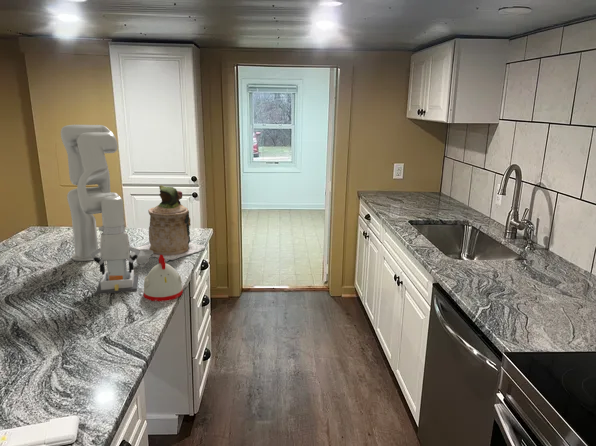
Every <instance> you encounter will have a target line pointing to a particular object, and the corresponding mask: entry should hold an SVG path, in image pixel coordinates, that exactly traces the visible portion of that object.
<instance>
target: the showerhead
mask: <svg viewBox="0 0 596 446" xmlns="http://www.w3.org/2000/svg"><path fill="white" fill-rule="evenodd" d="M130 255H131V256H132V257H133V256H134V255H135V252H133V251H130ZM152 257H153V251H152V250H147V249H140V253H139V255H138V257H137V258H136V259H135V260H136V263H137V264H139V267H140V268H145V267H146V264H148V263H149V258H152Z"/></svg>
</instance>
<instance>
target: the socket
mask: <svg viewBox="0 0 596 446" xmlns="http://www.w3.org/2000/svg"><path fill="white" fill-rule="evenodd" d="M138 282H139V274H137V275H136V274H135V270H134V269H133V270H132V272H131V273H129V269H127V279H123V280H111V281H108V271H105V274H104V275H102V276H101V277H100V278H99V281H98V284H97V287H96V291H95V294H96V295H103V294H105V295H106V294H116V293H128V292H137V291H138Z"/></svg>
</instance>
